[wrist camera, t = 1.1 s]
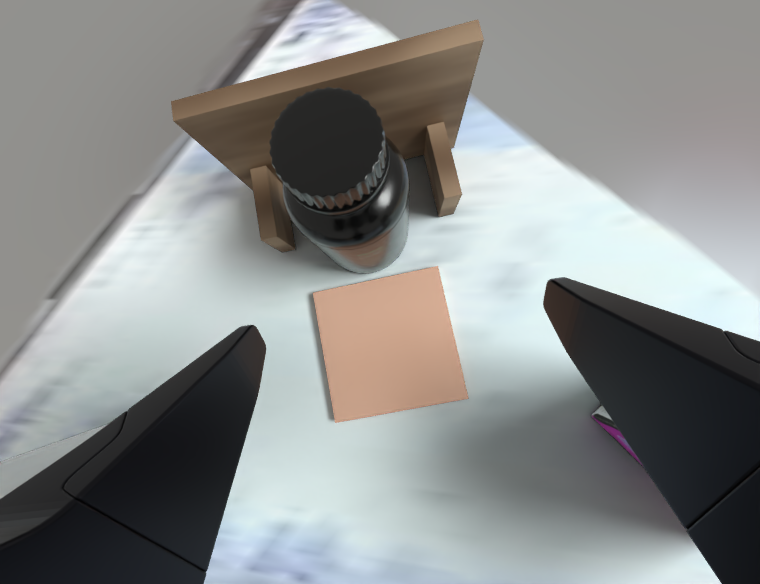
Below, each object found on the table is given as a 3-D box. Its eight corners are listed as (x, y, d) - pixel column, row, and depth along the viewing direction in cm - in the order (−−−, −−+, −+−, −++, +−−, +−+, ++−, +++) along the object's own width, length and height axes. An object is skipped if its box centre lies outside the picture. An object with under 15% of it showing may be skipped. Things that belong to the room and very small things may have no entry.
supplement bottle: (312, 217, 24) (219, 111, 12) (384, 179, 24) (364, 34, 12) (346, 289, 23) (283, 252, 11) (422, 250, 23) (441, 171, 11)
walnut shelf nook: (469, 210, 23) (511, 137, 14) (267, 255, 24) (184, 215, 15) (450, 134, 24) (478, 19, 15) (255, 181, 25) (171, 101, 16)
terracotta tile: (466, 396, 21) (468, 398, 21) (337, 420, 22) (335, 422, 21) (437, 267, 22) (437, 265, 22) (315, 293, 23) (312, 292, 22)
